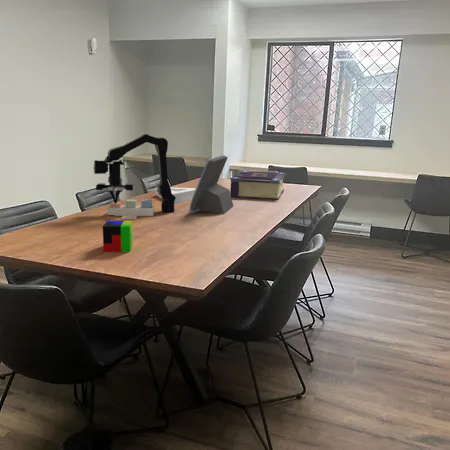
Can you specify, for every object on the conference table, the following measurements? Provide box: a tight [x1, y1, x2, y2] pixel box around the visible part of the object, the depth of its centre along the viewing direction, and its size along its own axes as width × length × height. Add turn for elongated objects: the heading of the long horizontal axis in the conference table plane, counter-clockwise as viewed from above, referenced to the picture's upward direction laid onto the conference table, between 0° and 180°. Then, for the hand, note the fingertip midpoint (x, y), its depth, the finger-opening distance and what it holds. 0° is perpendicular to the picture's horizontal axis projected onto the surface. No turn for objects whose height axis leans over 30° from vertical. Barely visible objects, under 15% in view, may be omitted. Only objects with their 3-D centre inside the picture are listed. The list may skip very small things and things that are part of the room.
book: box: [229, 170, 286, 201], centre depth 323 cm, size 33×45×14 cm
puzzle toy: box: [102, 220, 134, 253], centre depth 182 cm, size 10×10×10 cm
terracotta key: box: [109, 201, 122, 208], centre depth 245 cm, size 5×5×5 cm
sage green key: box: [125, 198, 138, 208], centre depth 245 cm, size 5×5×5 cm
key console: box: [107, 204, 155, 217], centre depth 246 cm, size 23×7×4 cm, turn 94°
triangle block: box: [155, 186, 196, 204], centre depth 298 cm, size 30×26×6 cm
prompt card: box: [121, 216, 138, 220], centre depth 238 cm, size 7×6×1 cm
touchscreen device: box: [189, 154, 234, 215], centre depth 263 cm, size 35×20×30 cm, turn 167°
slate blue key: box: [140, 199, 153, 208], centre depth 246 cm, size 5×5×5 cm
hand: (115, 203), depth 244 cm, fingers closed, pressing on terracotta key
